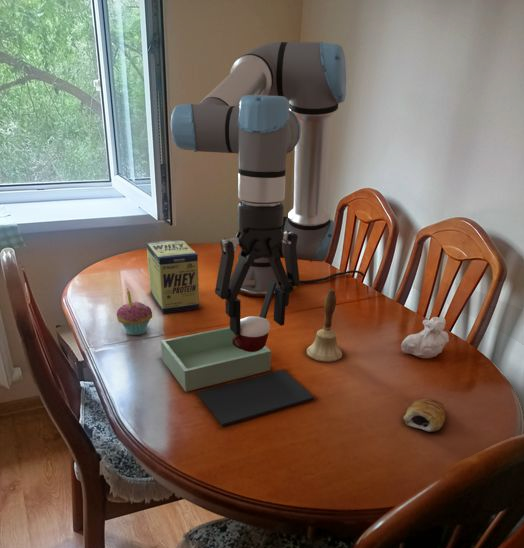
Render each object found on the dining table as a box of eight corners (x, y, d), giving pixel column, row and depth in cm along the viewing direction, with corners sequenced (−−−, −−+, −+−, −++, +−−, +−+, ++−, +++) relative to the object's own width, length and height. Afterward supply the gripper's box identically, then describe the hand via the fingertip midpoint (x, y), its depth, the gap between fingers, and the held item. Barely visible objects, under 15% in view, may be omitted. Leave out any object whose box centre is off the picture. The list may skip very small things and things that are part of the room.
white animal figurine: (400, 366, 115) (425, 346, 105) (390, 337, 118) (413, 315, 108) (444, 360, 119) (471, 340, 109) (433, 332, 121) (459, 310, 111)
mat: (283, 371, 107) (283, 369, 107) (313, 399, 98) (314, 397, 98) (197, 393, 98) (197, 391, 98) (222, 426, 89) (222, 424, 89)
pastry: (417, 401, 99) (421, 385, 97) (451, 413, 95) (456, 397, 93) (400, 424, 92) (404, 407, 90) (436, 438, 88) (441, 421, 87)
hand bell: (345, 348, 117) (352, 285, 110) (338, 364, 111) (346, 299, 103) (311, 342, 120) (316, 280, 112) (302, 358, 113) (307, 293, 105)
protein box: (162, 314, 132) (158, 258, 124) (149, 293, 144) (145, 241, 137) (200, 309, 135) (198, 254, 128) (184, 289, 148) (181, 238, 140)
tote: (240, 342, 119) (240, 324, 116) (270, 370, 108) (271, 351, 105) (162, 359, 110) (160, 340, 108) (185, 391, 99) (184, 371, 97)
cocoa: (234, 359, 88) (235, 297, 83) (224, 343, 94) (224, 284, 88) (283, 351, 92) (286, 291, 86) (270, 337, 97) (273, 279, 91)
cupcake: (144, 340, 118) (140, 293, 112) (112, 336, 119) (106, 289, 114) (158, 325, 125) (155, 281, 120) (127, 321, 127) (122, 277, 121)
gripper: (303, 193, 88) (295, 310, 98) (191, 201, 78) (195, 329, 89) (327, 201, 82) (316, 324, 93) (210, 211, 73) (212, 347, 83)
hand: (257, 327), depth 91 cm, fingers closed on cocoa, 8 cm apart
